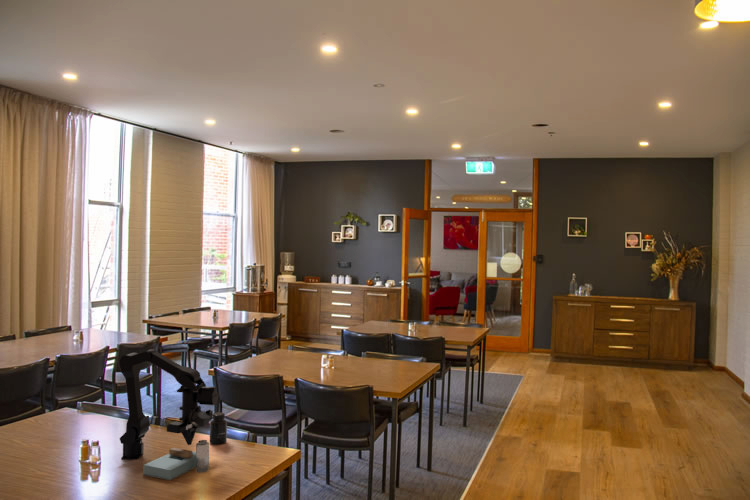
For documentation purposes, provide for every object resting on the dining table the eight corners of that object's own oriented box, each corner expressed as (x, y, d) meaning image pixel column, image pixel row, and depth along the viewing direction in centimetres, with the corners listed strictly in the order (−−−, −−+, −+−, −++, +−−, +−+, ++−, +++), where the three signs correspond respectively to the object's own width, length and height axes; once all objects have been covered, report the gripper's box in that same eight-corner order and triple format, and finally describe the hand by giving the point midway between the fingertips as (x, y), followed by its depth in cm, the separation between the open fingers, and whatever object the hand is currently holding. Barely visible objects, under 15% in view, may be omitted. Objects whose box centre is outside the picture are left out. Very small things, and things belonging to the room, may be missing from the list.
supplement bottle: (221, 446, 231) (222, 416, 231) (206, 444, 233) (206, 415, 233) (229, 440, 238) (229, 412, 238) (214, 439, 239) (214, 411, 239)
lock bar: (169, 454, 210) (169, 449, 210) (173, 452, 212) (173, 447, 212) (188, 458, 207) (188, 452, 207) (192, 456, 209) (192, 451, 209)
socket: (143, 474, 201) (143, 464, 201) (179, 458, 217) (179, 448, 217) (170, 480, 196) (170, 470, 196) (204, 462, 213) (204, 453, 213)
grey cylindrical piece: (194, 472, 203) (194, 443, 203) (197, 467, 207) (197, 439, 208) (207, 472, 203) (207, 443, 203) (210, 467, 208) (210, 438, 208)
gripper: (190, 412, 204) (189, 455, 204) (222, 400, 221) (222, 440, 221) (165, 408, 208) (165, 451, 208) (199, 397, 225) (199, 436, 225)
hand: (189, 444), depth 215 cm, fingers closed
